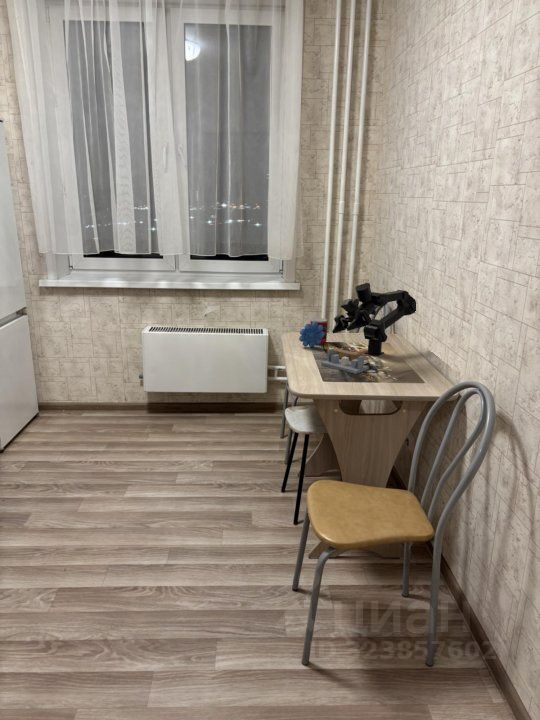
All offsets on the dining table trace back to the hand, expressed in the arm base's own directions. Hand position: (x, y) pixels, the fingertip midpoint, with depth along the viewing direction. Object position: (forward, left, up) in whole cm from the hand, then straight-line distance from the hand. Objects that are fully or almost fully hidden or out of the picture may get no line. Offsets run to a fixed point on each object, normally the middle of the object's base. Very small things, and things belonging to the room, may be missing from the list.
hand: (339, 331), depth 218 cm
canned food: (-22, -28, -14) cm, 38 cm away
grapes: (-13, -25, -14) cm, 31 cm away
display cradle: (+2, +4, -14) cm, 15 cm away
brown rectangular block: (-9, -4, -14) cm, 17 cm away
